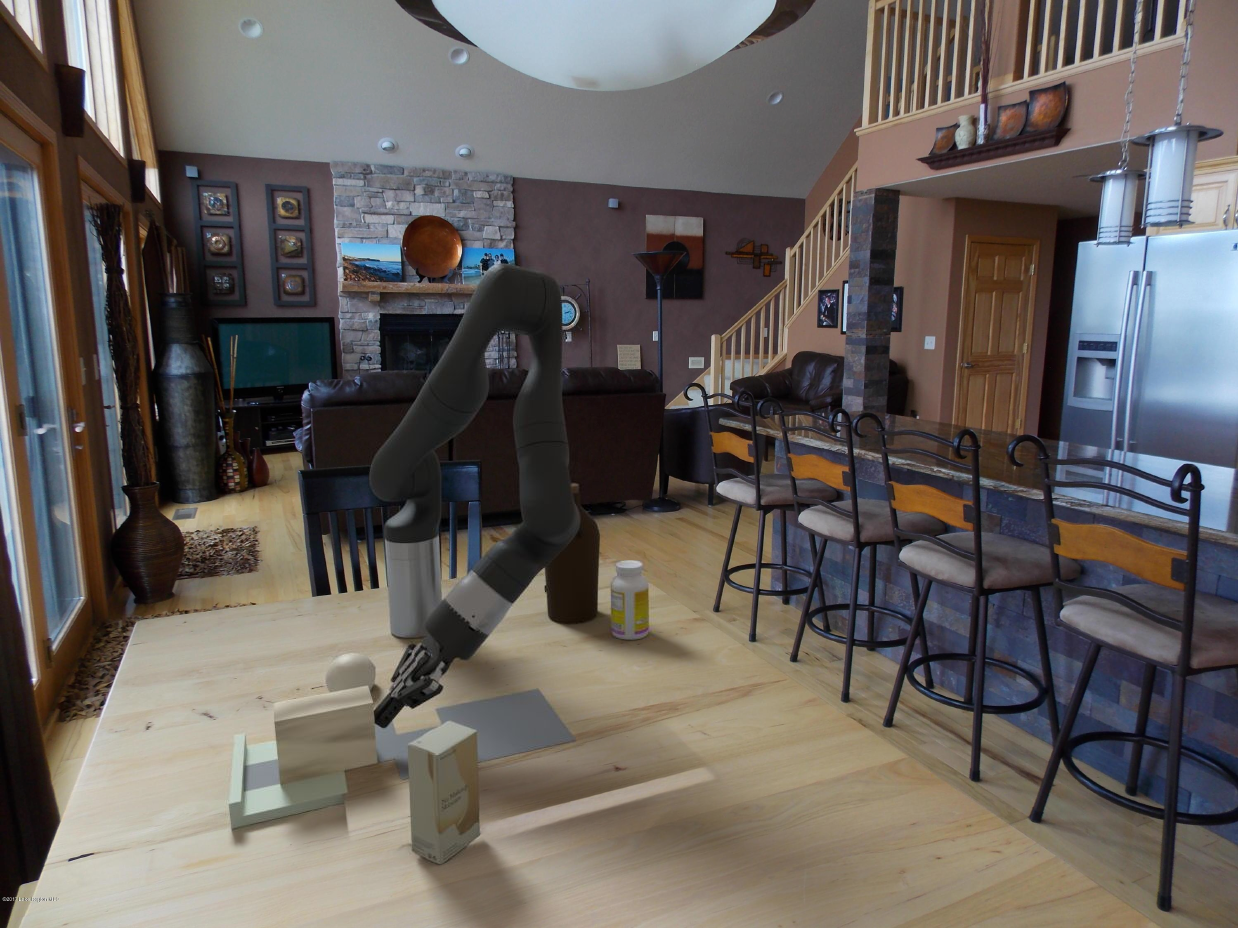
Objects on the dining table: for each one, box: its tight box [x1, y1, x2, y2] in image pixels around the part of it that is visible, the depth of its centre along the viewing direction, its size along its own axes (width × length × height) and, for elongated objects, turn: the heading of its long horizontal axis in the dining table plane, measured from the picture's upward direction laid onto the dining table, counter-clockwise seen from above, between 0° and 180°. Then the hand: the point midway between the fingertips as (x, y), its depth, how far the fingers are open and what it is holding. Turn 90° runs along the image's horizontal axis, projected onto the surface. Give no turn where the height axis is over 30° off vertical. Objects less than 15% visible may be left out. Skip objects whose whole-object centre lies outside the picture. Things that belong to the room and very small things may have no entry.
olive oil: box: [544, 482, 601, 624], centre depth 147 cm, size 11×11×25 cm
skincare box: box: [408, 721, 481, 865], centre depth 83 cm, size 6×4×12 cm
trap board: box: [228, 688, 577, 830], centre depth 101 cm, size 16×40×3 cm, turn 113°
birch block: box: [273, 686, 378, 785], centre depth 96 cm, size 5×11×8 cm, turn 114°
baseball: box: [325, 652, 377, 693], centre depth 116 cm, size 7×7×7 cm
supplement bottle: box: [610, 559, 650, 641], centre depth 139 cm, size 7×7×13 cm
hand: (377, 722), depth 99 cm, fingers closed
